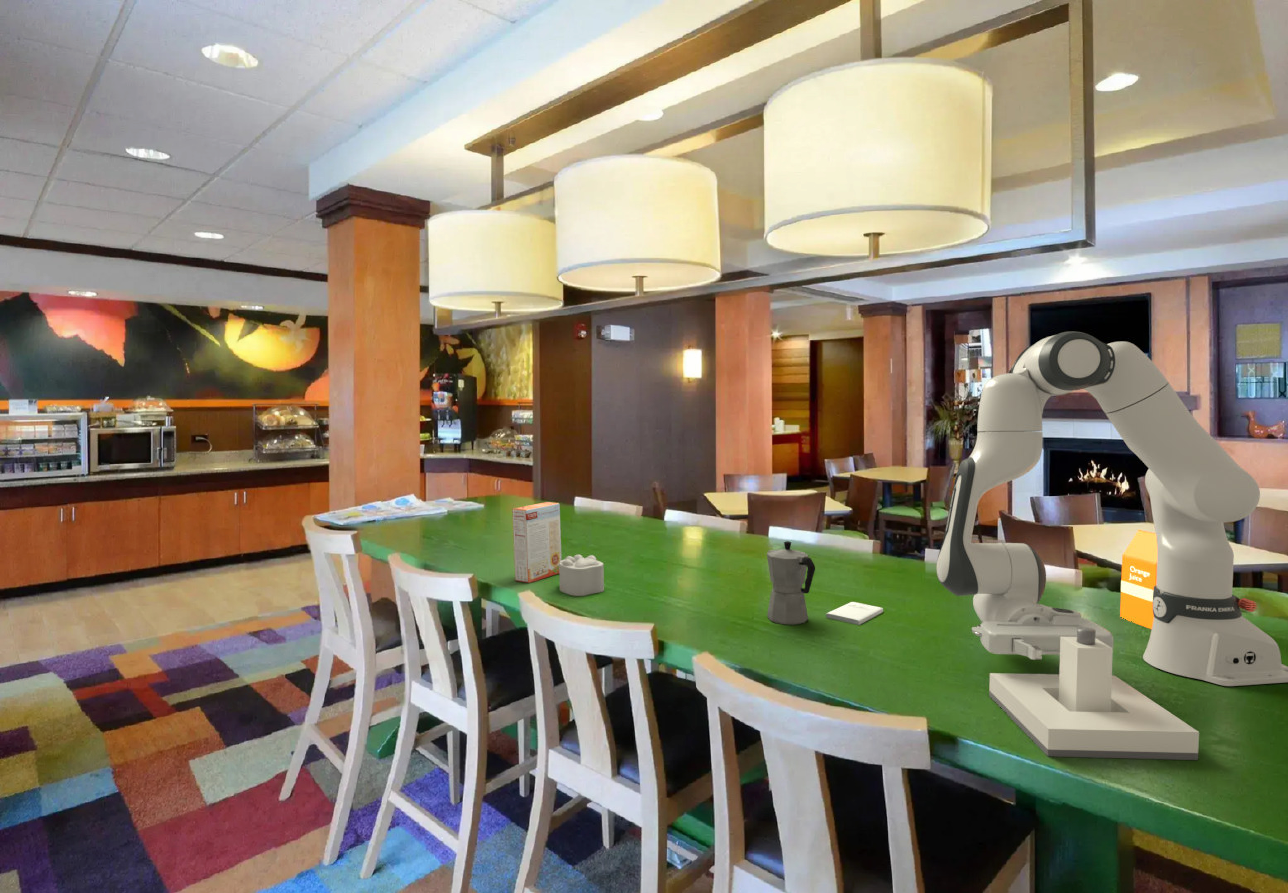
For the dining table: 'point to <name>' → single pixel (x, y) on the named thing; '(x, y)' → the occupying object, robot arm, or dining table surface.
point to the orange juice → (1139, 579)
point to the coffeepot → (789, 585)
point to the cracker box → (536, 541)
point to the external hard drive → (854, 613)
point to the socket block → (1093, 721)
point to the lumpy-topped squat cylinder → (581, 575)
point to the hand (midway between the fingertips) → (1067, 655)
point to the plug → (1085, 673)
